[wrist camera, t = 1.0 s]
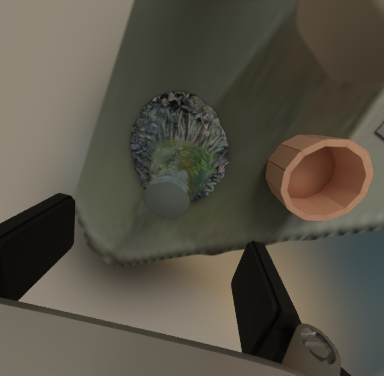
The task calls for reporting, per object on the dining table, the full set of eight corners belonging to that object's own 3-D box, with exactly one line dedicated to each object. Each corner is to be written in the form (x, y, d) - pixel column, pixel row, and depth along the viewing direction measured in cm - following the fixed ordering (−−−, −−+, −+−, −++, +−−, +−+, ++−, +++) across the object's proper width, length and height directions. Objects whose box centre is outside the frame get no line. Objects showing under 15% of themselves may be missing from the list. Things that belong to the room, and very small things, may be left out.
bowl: (297, 120, 34) (324, 121, 26) (352, 159, 36) (392, 170, 28) (252, 179, 38) (264, 195, 30) (303, 211, 40) (326, 233, 32)
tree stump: (236, 95, 33) (268, 124, 19) (218, 188, 45) (228, 254, 30) (131, 84, 33) (77, 106, 18) (139, 182, 44) (109, 245, 29)
